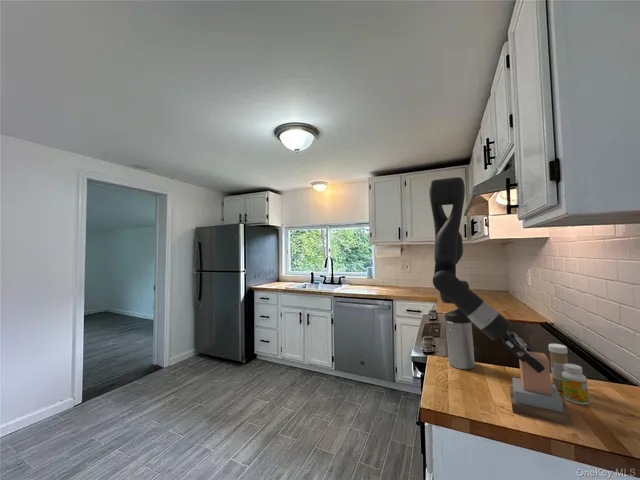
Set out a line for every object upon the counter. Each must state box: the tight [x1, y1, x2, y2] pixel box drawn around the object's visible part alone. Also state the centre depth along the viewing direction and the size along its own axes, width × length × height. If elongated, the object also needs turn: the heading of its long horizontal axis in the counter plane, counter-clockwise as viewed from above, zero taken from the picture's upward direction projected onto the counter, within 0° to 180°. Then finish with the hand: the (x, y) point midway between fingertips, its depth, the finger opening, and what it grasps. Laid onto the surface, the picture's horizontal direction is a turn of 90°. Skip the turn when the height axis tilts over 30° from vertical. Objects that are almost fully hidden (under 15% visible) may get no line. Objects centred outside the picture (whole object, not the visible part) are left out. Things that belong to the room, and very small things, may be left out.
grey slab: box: [512, 377, 564, 412], centre depth 76 cm, size 10×10×3 cm
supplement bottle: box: [562, 363, 590, 406], centre depth 79 cm, size 5×5×10 cm
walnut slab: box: [509, 385, 572, 426], centre depth 76 cm, size 12×12×3 cm
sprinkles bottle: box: [547, 343, 569, 392], centre depth 86 cm, size 5×5×13 cm
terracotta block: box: [518, 351, 552, 395], centre depth 76 cm, size 6×6×9 cm
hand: (539, 365), depth 76 cm, fingers open, 8 cm apart
